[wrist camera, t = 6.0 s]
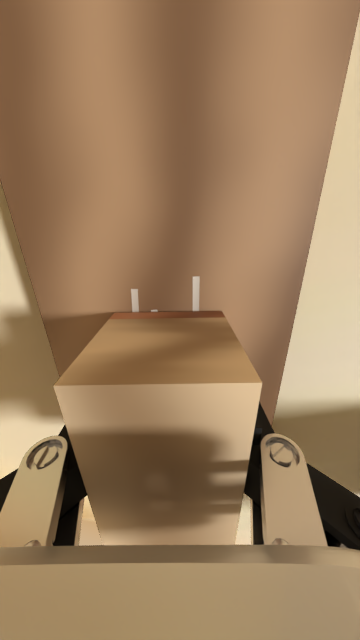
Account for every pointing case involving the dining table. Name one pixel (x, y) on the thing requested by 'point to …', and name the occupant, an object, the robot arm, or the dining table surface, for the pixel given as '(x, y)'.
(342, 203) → the dining table surface
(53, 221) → the board
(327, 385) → the dining table surface
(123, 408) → the block
